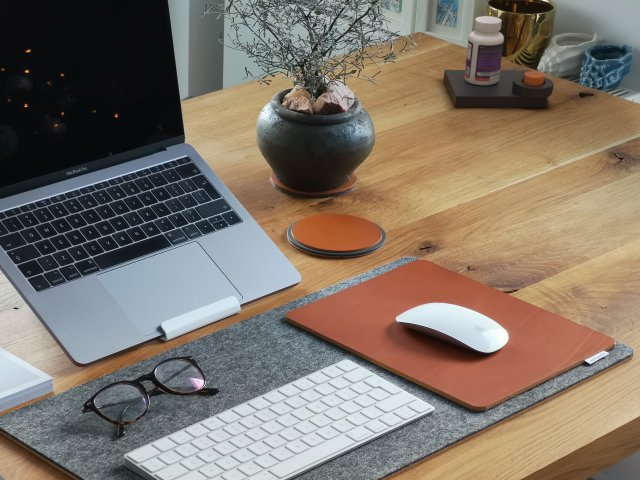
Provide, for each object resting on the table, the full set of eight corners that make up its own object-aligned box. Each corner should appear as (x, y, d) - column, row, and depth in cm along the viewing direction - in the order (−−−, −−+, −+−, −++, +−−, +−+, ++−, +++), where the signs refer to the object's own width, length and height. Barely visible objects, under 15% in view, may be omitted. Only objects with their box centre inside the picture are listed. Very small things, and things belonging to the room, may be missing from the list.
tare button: (540, 80, 172) (542, 71, 171) (545, 87, 169) (546, 77, 168) (521, 80, 172) (522, 70, 171) (525, 87, 169) (526, 77, 168)
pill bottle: (505, 80, 175) (513, 19, 170) (486, 88, 172) (494, 26, 167) (476, 72, 179) (483, 12, 174) (457, 80, 175) (463, 19, 170)
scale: (535, 81, 181) (538, 60, 179) (553, 110, 169) (557, 88, 168) (443, 80, 181) (445, 60, 179) (455, 109, 170) (458, 88, 168)
